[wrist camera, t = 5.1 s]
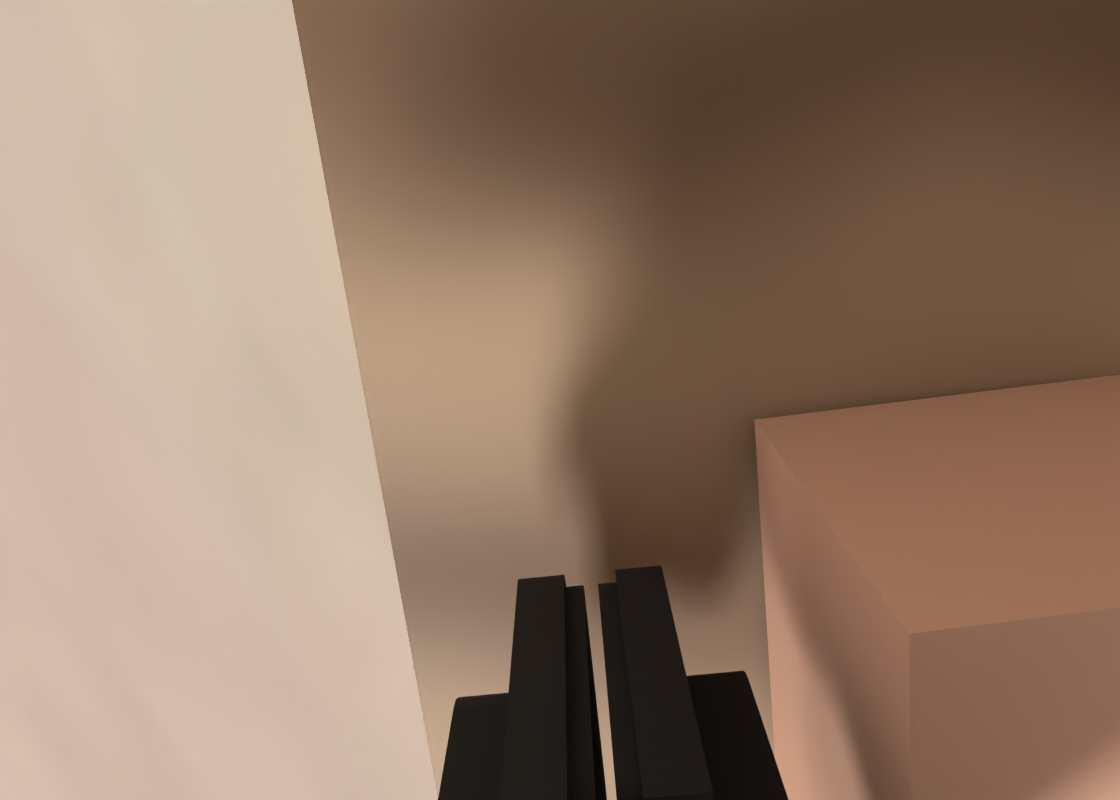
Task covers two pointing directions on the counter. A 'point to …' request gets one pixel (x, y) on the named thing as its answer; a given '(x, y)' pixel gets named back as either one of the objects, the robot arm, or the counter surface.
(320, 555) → the counter surface
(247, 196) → the counter surface
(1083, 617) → the terracotta block
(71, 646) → the counter surface
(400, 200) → the deck
